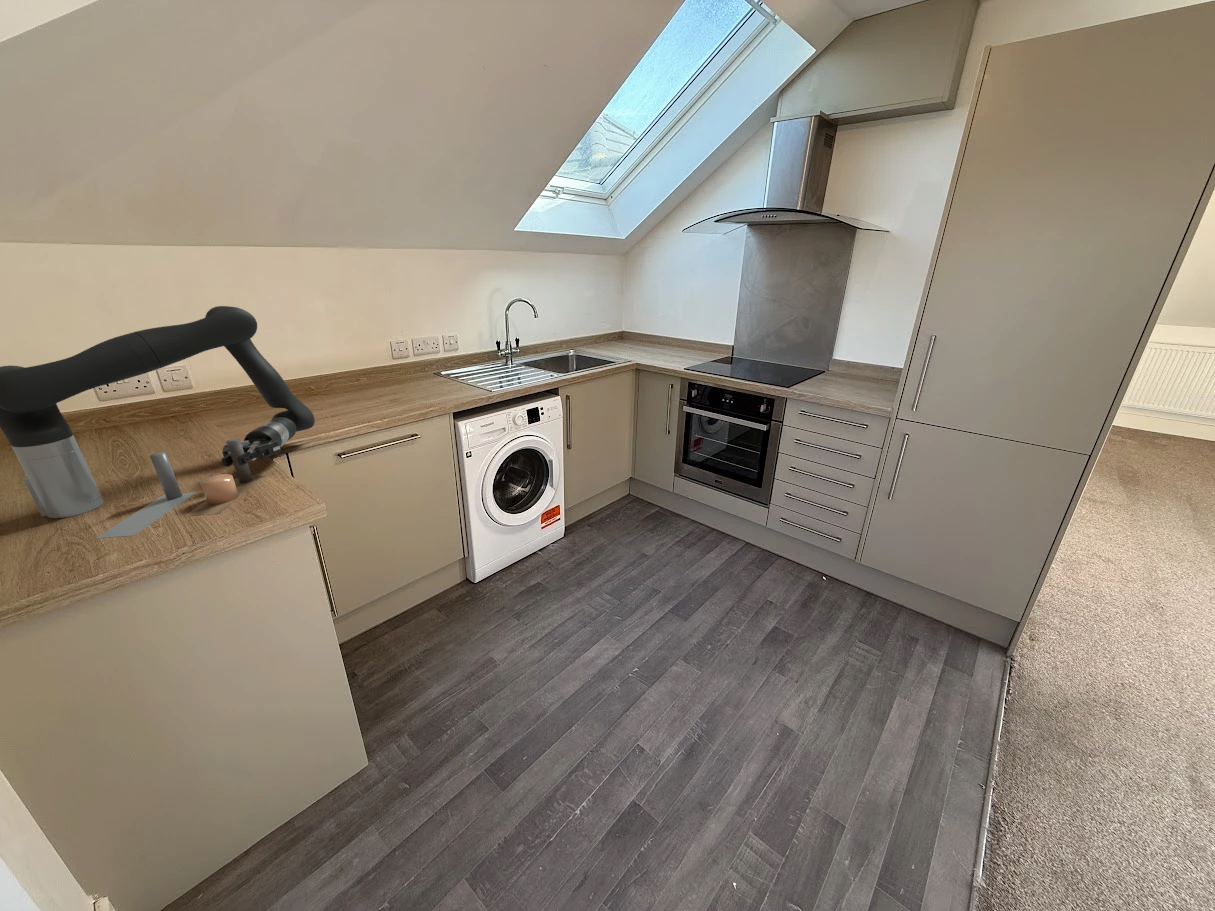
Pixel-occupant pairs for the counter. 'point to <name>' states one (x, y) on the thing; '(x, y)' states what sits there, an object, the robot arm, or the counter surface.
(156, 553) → the counter surface
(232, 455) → the peg on wooden base
